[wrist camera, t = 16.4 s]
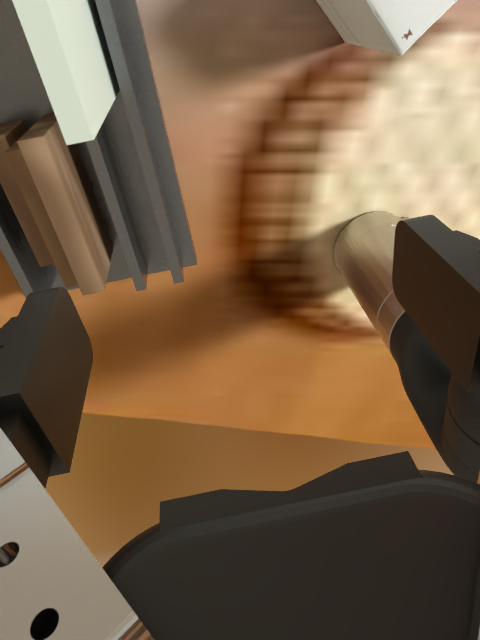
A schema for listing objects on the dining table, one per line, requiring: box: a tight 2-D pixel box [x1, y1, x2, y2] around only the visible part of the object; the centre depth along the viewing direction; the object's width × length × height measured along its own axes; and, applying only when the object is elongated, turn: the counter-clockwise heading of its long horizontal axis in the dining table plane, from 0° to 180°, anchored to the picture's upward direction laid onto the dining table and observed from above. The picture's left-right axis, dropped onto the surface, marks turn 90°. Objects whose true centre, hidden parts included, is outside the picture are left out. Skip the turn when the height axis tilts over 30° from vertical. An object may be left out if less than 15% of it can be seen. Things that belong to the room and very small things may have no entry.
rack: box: [0, 0, 197, 298], centre depth 39 cm, size 19×38×6 cm, turn 9°
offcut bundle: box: [0, 114, 113, 295], centre depth 41 cm, size 6×14×9 cm, turn 9°
